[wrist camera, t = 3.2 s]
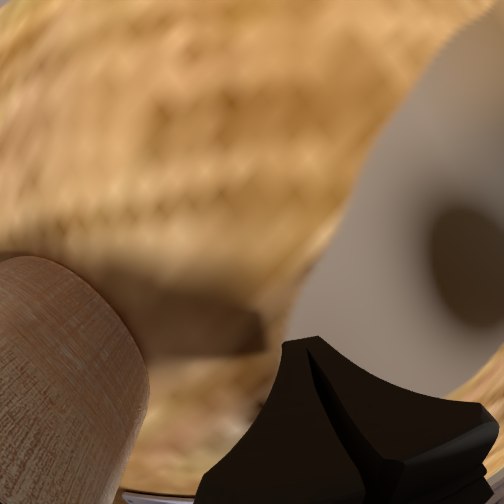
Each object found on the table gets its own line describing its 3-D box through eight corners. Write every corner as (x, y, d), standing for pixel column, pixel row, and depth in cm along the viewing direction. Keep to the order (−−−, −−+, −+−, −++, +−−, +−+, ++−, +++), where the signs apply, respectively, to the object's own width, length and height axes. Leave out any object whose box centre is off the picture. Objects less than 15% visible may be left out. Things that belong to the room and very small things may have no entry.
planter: (60, 433, 14) (5, 532, 4) (-31, 292, 11) (-133, 359, 2) (194, 414, 13) (166, 589, 4) (79, 210, 10) (-133, 283, 1)
